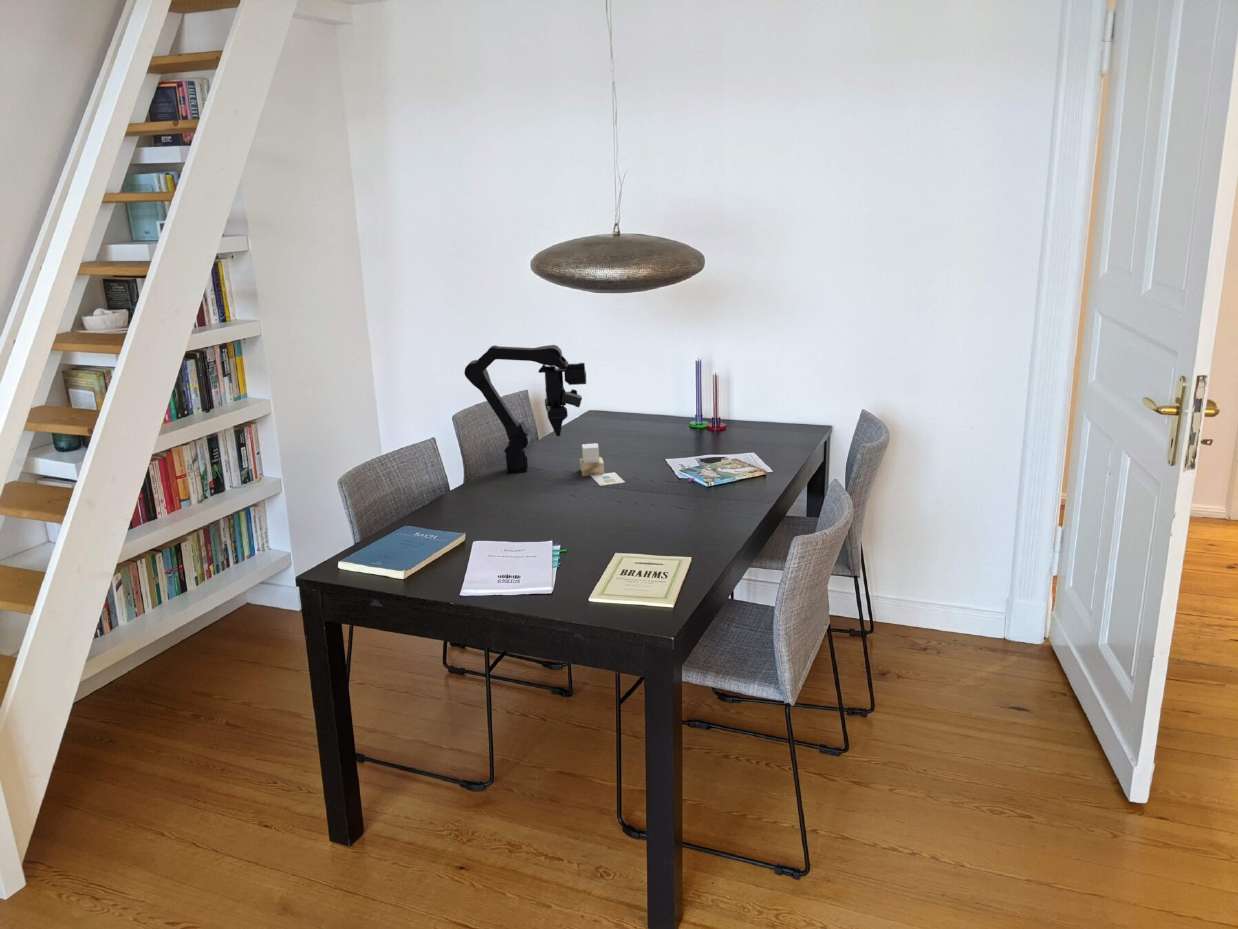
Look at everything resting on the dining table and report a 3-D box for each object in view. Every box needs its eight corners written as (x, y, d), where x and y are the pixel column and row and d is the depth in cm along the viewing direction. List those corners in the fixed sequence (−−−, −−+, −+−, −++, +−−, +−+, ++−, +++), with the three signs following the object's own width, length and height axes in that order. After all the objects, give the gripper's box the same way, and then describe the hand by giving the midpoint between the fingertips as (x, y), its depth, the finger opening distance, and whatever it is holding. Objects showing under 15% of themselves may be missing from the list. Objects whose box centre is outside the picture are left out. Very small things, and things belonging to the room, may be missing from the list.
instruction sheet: (600, 485, 290) (600, 485, 290) (590, 476, 300) (590, 475, 300) (625, 482, 292) (625, 481, 292) (614, 472, 302) (614, 472, 302)
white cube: (583, 463, 301) (583, 448, 299) (582, 459, 305) (581, 444, 304) (599, 462, 301) (598, 447, 300) (598, 458, 306) (597, 443, 304)
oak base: (582, 476, 301) (581, 464, 300) (580, 470, 307) (579, 458, 306) (604, 475, 302) (603, 463, 300) (601, 468, 308) (601, 457, 307)
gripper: (582, 389, 294) (584, 438, 298) (577, 378, 312) (579, 423, 316) (546, 392, 293) (549, 440, 297) (543, 380, 310) (546, 426, 315)
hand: (557, 432), depth 306 cm, fingers open, 9 cm apart
